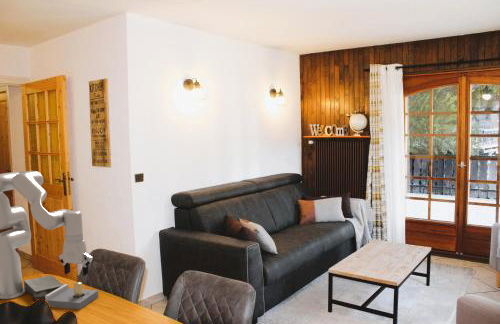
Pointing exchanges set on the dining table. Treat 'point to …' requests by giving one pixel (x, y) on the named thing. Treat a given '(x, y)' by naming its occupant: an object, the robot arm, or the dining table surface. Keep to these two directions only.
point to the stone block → (41, 286)
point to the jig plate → (70, 298)
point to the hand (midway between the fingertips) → (76, 273)
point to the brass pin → (78, 289)
